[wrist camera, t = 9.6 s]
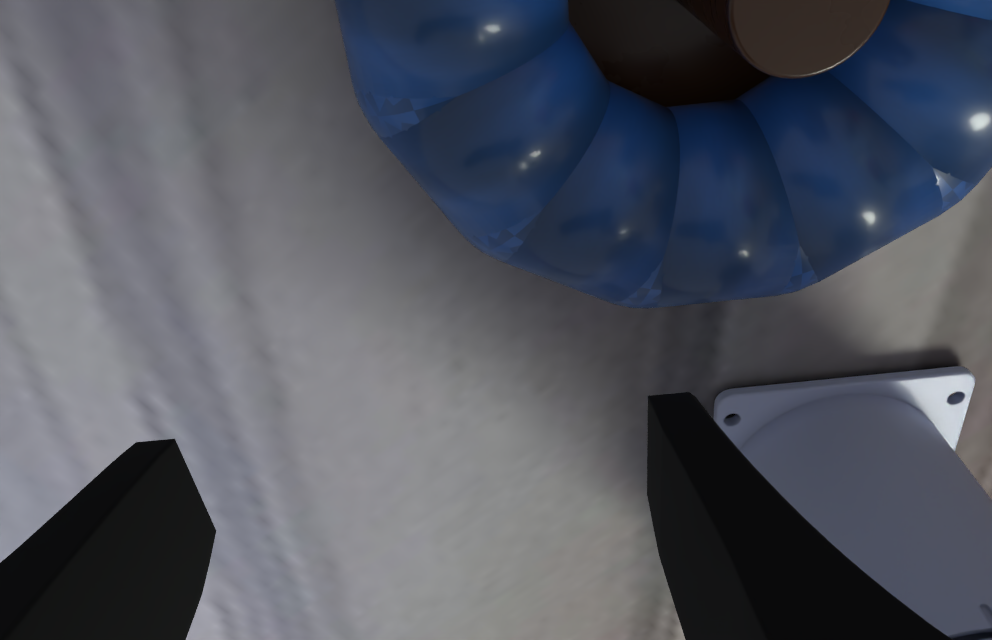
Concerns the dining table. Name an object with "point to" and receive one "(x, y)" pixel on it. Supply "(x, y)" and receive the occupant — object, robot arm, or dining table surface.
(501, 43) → the blue swim ring
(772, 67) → the wooden peg stand
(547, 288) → the dining table surface
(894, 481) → the robot arm
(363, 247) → the dining table surface
